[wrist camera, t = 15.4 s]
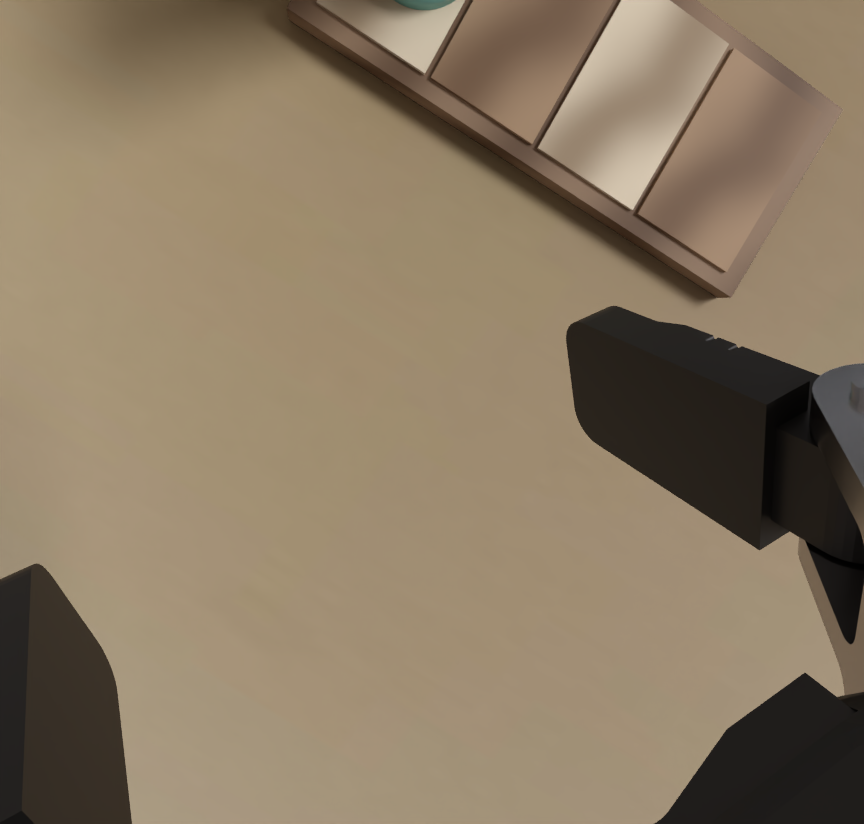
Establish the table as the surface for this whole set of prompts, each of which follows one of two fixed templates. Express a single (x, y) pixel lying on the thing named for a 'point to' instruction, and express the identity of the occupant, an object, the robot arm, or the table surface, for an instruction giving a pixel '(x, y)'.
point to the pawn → (424, 4)
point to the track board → (608, 110)
